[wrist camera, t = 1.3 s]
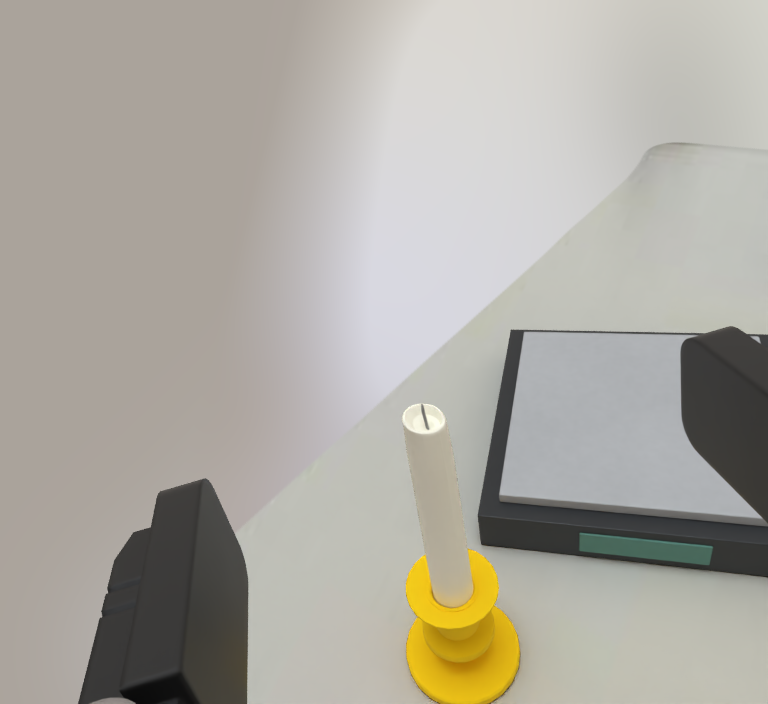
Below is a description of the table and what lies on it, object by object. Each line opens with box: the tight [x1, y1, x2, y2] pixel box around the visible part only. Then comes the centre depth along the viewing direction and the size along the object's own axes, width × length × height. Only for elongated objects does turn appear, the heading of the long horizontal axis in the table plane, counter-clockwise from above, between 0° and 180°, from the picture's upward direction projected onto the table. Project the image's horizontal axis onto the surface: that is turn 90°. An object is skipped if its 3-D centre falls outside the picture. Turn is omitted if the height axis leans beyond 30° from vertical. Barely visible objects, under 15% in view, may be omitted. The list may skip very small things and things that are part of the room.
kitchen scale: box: [478, 330, 768, 576], centre depth 39 cm, size 16×16×3 cm
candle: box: [402, 404, 520, 704], centre depth 27 cm, size 5×5×16 cm
